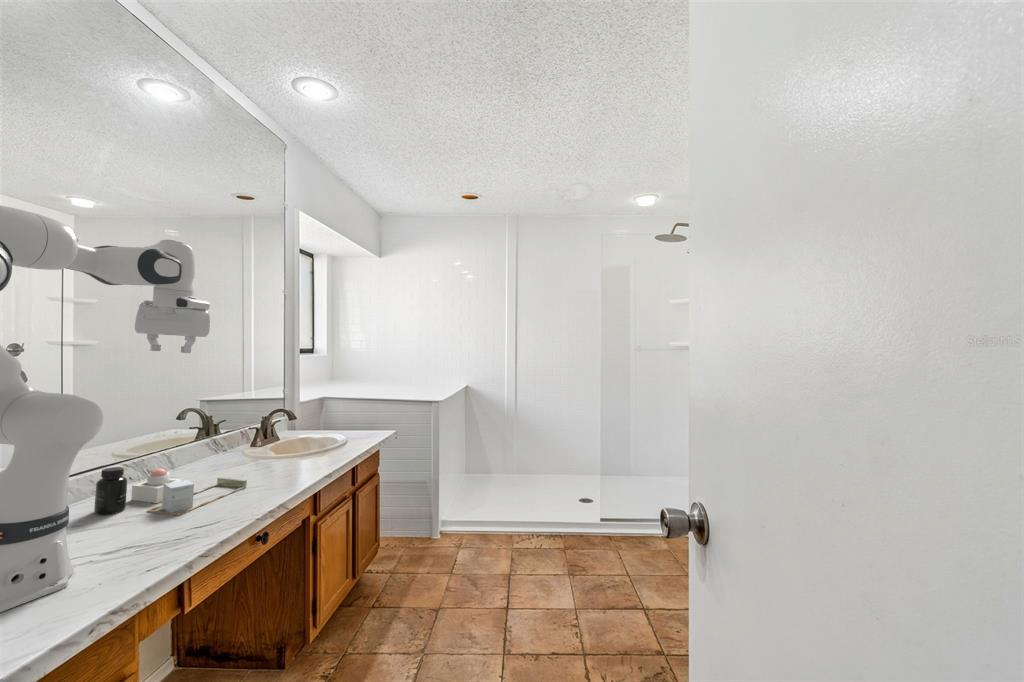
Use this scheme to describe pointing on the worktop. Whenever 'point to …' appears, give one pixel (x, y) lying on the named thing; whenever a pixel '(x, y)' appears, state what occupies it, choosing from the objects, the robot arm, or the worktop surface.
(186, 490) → the product box
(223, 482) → the track
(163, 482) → the white pink rounded piece
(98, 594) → the worktop surface
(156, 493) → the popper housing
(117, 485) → the supplement bottle
